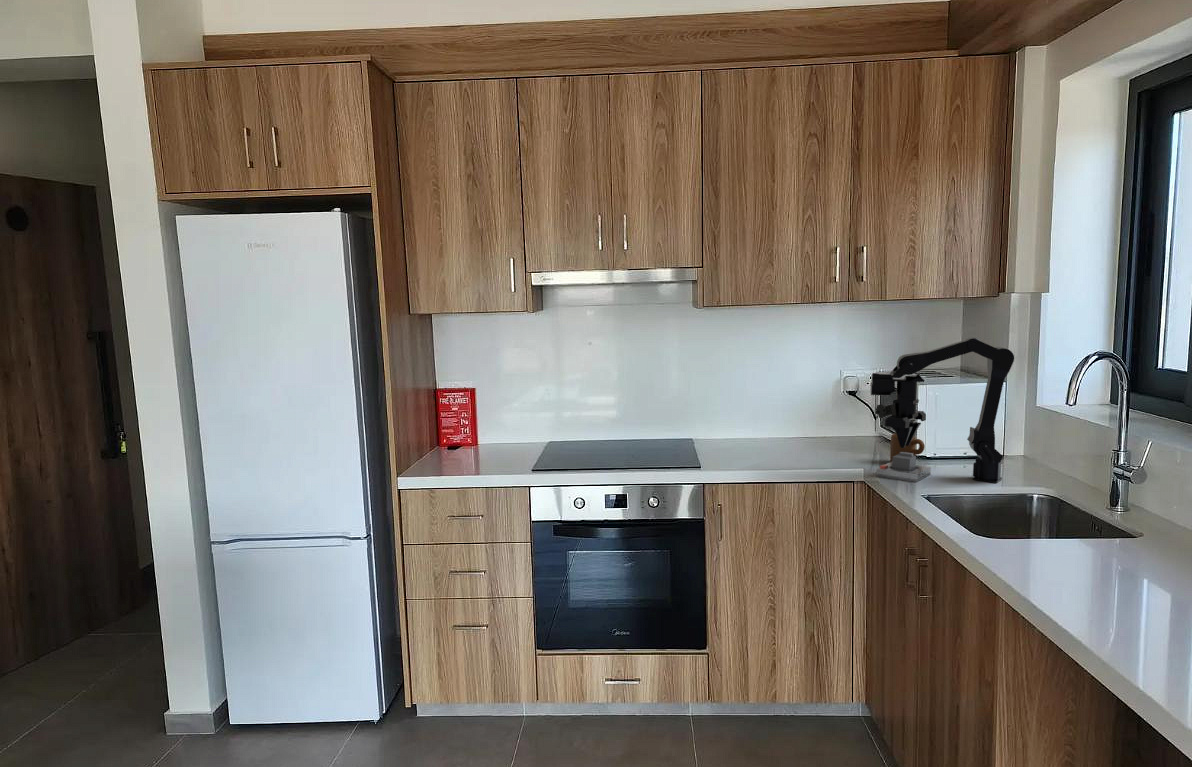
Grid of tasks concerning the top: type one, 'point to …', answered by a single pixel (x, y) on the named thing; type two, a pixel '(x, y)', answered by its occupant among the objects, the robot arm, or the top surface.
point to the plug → (904, 461)
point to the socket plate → (904, 473)
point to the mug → (896, 448)
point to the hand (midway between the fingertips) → (904, 446)
